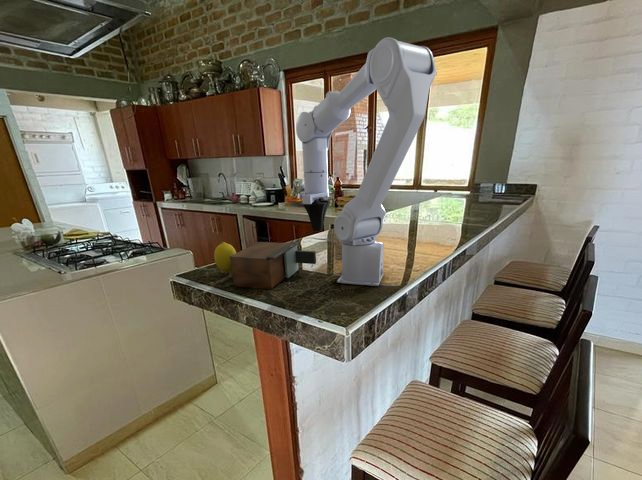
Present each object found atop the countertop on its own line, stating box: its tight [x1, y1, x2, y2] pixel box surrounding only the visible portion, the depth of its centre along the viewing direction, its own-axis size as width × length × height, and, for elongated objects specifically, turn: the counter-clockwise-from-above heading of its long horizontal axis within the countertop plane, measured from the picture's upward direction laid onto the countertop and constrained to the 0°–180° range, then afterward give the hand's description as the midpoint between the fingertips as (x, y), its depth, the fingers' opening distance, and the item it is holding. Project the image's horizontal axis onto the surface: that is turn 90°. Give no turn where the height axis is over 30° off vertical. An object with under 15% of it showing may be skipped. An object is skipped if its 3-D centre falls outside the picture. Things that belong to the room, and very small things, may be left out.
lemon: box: [213, 241, 237, 274], centre depth 84 cm, size 6×6×8 cm
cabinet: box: [230, 241, 300, 290], centre depth 79 cm, size 11×14×7 cm
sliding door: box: [284, 244, 317, 279], centre depth 81 cm, size 6×7×6 cm
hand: (317, 230), depth 85 cm, fingers closed
